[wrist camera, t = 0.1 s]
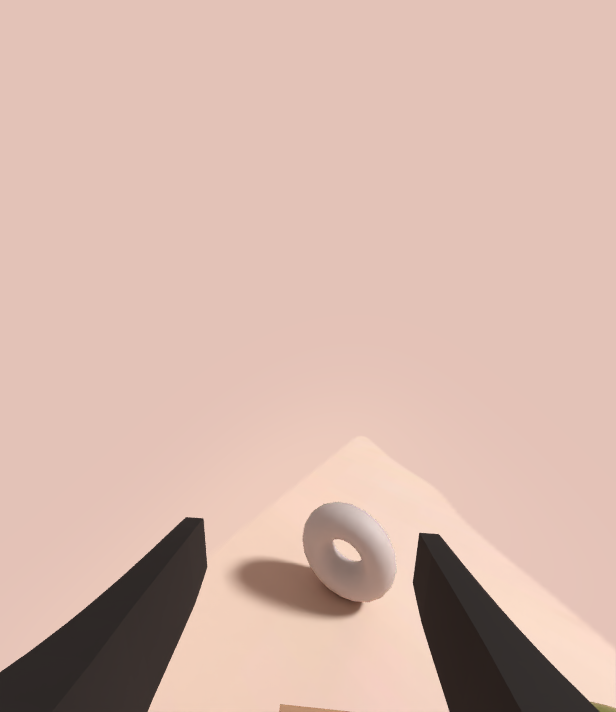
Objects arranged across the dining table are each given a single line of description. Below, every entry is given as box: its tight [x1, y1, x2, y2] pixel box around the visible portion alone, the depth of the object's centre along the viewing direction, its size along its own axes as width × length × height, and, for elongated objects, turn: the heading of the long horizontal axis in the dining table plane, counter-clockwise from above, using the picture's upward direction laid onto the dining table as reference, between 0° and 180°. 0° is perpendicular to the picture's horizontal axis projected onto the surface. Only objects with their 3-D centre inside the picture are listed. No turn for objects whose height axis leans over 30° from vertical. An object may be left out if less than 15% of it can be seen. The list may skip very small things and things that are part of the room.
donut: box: [303, 502, 397, 602], centre depth 29 cm, size 10×4×10 cm, turn 63°
